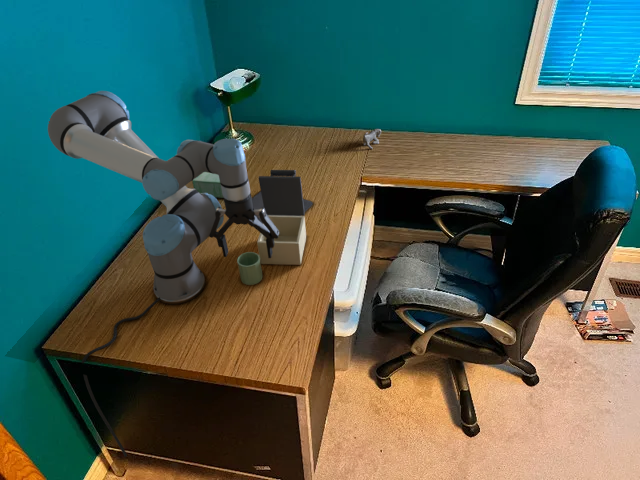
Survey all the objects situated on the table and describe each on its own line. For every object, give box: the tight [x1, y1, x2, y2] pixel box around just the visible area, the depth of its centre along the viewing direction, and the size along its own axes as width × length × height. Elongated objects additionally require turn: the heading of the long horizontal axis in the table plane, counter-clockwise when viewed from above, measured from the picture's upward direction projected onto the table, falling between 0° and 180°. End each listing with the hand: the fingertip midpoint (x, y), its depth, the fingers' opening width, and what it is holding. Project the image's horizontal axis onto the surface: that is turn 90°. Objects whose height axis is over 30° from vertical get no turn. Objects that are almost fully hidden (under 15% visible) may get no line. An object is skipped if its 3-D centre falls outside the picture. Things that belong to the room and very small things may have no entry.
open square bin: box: [256, 215, 307, 266], centre depth 158 cm, size 15×13×9 cm
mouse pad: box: [251, 191, 313, 224], centre depth 180 cm, size 23×20×1 cm
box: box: [191, 172, 224, 199], centre depth 189 cm, size 7×14×8 cm, turn 79°
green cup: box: [236, 251, 264, 286], centre depth 148 cm, size 7×7×8 cm
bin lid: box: [258, 169, 306, 216], centre depth 157 cm, size 16×13×7 cm
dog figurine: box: [362, 128, 382, 150], centre depth 215 cm, size 12×6×7 cm, turn 138°
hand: (248, 254), depth 145 cm, fingers open, 13 cm apart
